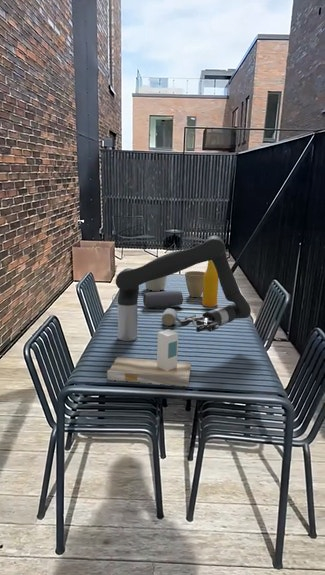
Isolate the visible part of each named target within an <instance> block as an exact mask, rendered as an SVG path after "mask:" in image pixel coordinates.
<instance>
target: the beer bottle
mask: <svg viewBox="0 0 325 575" xmlns="http://www.w3.org/2000/svg"><path fill="white" fill-rule="evenodd" d="M204 272H205V274H204V280H203V292H202V298H201V300H202V301H201V302H202V303H201V304H202V305H203V306H204V307H209V308H211V307H216V306H217V305H218V292H219V278H218V274H217V271H216V268H215V266H214V263H213V261H212V260H210V261H207V266H206V270H205V271H204Z"/></svg>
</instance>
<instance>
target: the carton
mask: <svg viewBox="0 0 325 575" xmlns="http://www.w3.org/2000/svg"><path fill="white" fill-rule="evenodd" d="M178 346H179V332H177V331H174V330H172V329H169V328H168V329H164V330H161V331H158V332H157V346H156V347H157V348H156V350H157V354H156V360H157V366H158V367H159V368H161V369H163V370H165V371H168V370H171V369H173V368H176V367H177V362H178V355H179V354H178V351H179V350H178V348H179V347H178Z"/></svg>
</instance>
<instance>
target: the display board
mask: <svg viewBox="0 0 325 575" xmlns="http://www.w3.org/2000/svg"><path fill="white" fill-rule="evenodd" d="M191 365H192V363H191V362H185V361H184V362H183V361H182V362H180V361H177V367H176V368H173V369H171V370H168V371H165V370H163V369H161V368H159V367H158V366H157V359H142V358H135V357H134V358H131V357H121V356H120V357H119V356H117V357H116V358H115V360H114V362H113V364H112V365H111V367H110V369H108V370H107V371H106V372H107V376H106V377H107V378H106V379H107V381H114V380H116V382H126V381H128V383H137V382H140V383H139V384H148V383H152V384H151V385H160V384H165V385H164V386H171V385H175V386H174V387H183V386H185V387H184V388H189V385H190V384H189V383H190V378H191V377H190V376H191V371H192V370H191V369H192V366H191Z"/></svg>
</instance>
